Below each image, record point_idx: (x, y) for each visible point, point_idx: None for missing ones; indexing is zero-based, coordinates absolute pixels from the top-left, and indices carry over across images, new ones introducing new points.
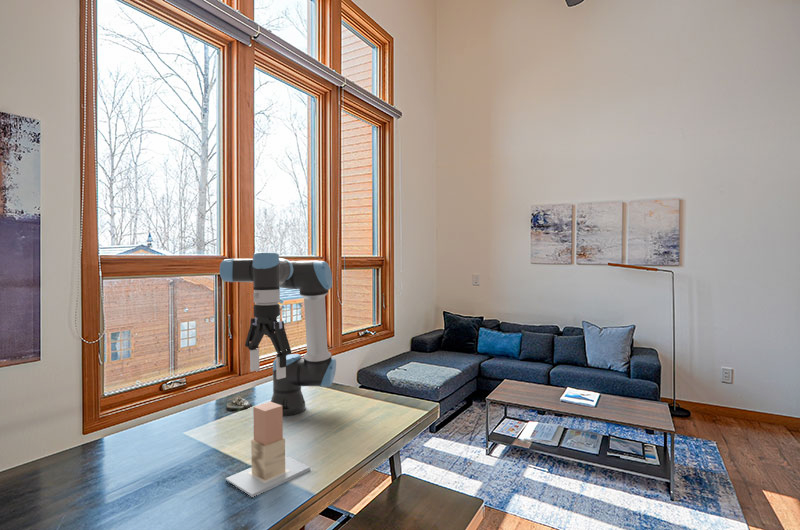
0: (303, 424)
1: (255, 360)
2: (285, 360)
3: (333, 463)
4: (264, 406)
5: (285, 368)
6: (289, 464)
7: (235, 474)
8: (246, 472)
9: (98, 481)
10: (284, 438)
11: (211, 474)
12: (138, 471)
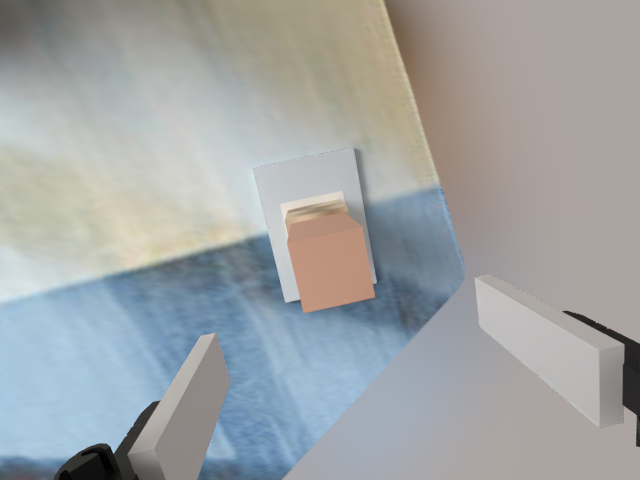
0: (71, 16)
1: (204, 404)
2: (621, 341)
3: (358, 87)
4: (326, 281)
5: (528, 296)
6: (312, 178)
7: (282, 283)
8: (288, 264)
9: None
10: (346, 207)
11: (239, 313)
12: None
